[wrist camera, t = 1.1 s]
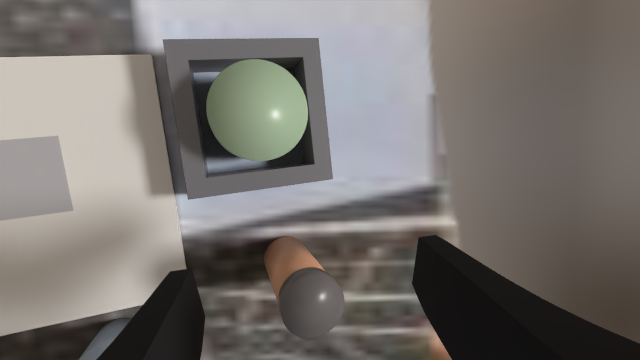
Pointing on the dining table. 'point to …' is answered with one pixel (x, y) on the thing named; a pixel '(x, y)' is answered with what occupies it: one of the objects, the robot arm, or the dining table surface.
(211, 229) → the dining table surface
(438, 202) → the dining table surface
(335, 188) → the dining table surface
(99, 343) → the marker slate
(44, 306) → the paper
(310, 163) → the button housing
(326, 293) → the marker terracotta
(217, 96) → the button
